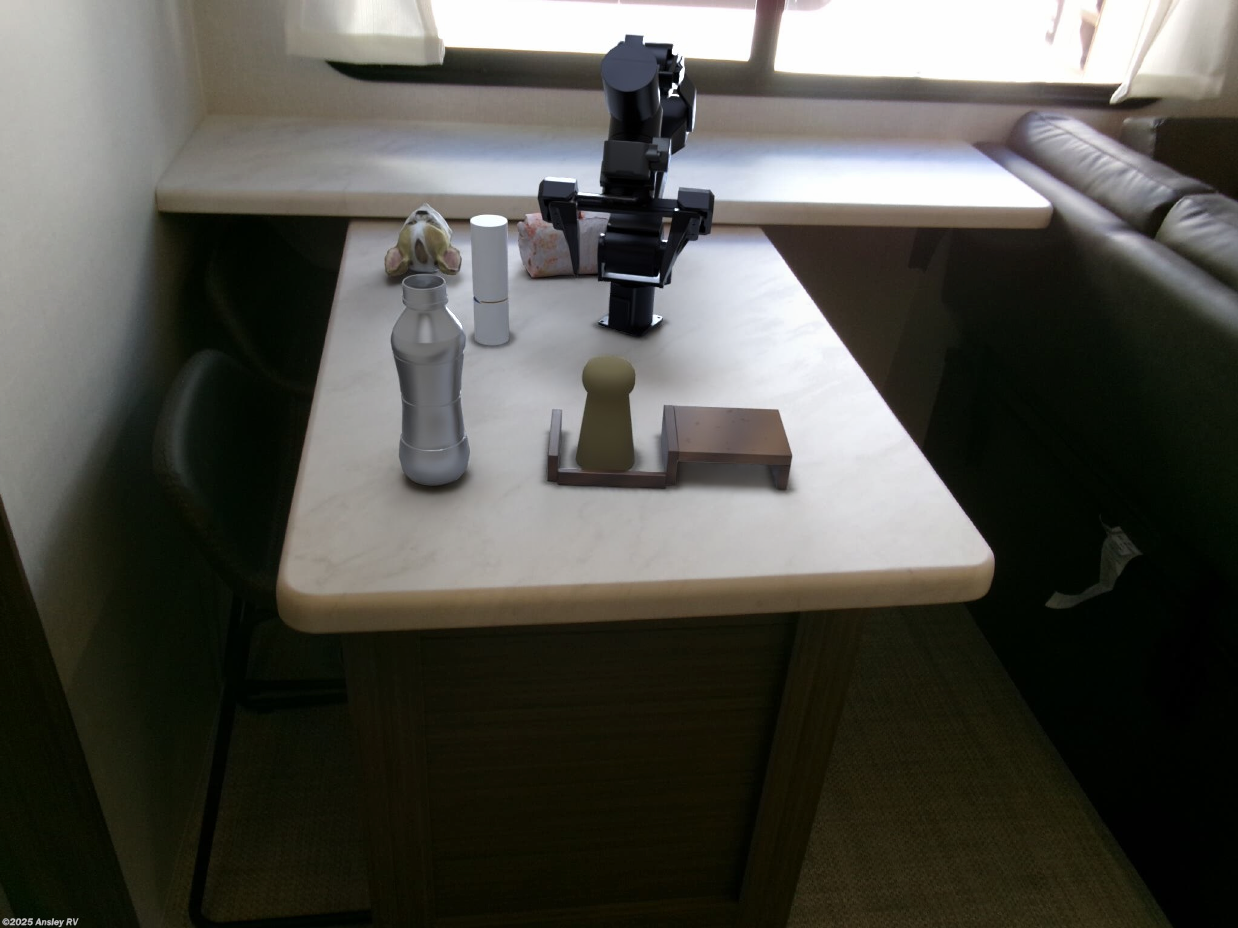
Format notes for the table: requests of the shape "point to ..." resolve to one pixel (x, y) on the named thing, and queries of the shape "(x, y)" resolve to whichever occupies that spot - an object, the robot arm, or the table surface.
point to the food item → (559, 245)
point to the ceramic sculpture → (424, 245)
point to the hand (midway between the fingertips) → (618, 279)
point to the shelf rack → (692, 446)
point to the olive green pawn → (607, 415)
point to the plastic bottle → (430, 383)
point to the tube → (490, 278)
